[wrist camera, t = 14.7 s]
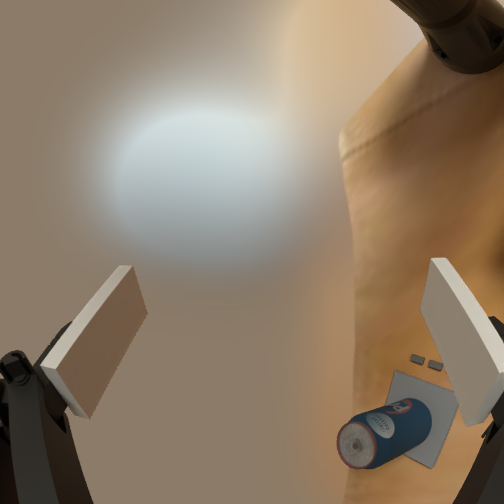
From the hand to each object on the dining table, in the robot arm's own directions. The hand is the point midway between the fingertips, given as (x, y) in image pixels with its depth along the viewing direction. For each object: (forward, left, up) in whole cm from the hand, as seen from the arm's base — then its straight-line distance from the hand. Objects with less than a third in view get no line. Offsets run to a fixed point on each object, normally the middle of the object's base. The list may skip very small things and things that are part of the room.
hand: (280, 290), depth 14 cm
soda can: (+17, -7, -30) cm, 35 cm away
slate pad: (+17, -7, -30) cm, 36 cm away
